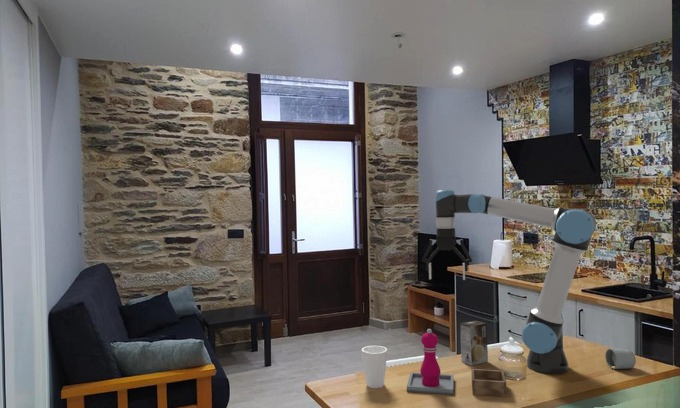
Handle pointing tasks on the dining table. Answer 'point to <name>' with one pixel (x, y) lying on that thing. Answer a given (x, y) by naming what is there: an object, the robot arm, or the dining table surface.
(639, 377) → the dining table surface
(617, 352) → the grey slotted cylinder
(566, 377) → the dining table surface
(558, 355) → the robot arm
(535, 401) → the dining table surface
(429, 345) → the pepper mill
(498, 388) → the wooden box
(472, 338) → the coffee box
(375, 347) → the foam cup
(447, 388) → the slate tray
